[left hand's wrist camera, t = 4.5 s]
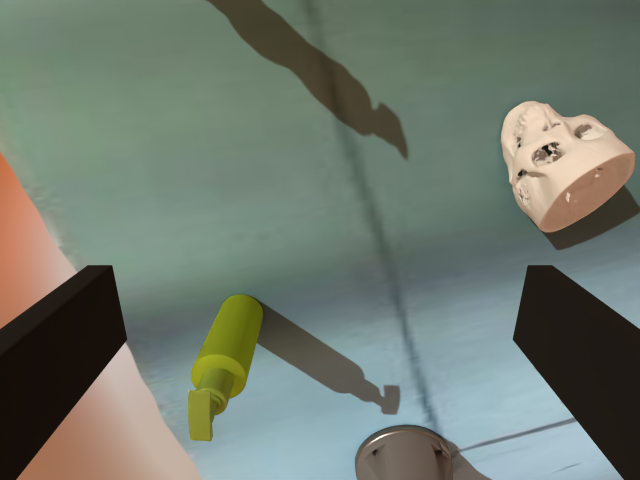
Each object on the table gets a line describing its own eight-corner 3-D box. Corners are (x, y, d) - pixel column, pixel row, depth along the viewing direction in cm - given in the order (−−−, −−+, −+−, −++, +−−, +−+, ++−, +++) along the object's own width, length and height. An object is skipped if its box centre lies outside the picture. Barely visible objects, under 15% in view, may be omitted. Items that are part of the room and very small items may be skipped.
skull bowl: (564, 61, 41) (661, 123, 33) (559, 150, 52) (632, 212, 44) (472, 115, 43) (544, 185, 35) (485, 190, 53) (543, 257, 46)
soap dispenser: (263, 288, 52) (232, 397, 33) (262, 332, 54) (232, 456, 36) (219, 286, 52) (163, 393, 33) (220, 330, 54) (168, 453, 36)
